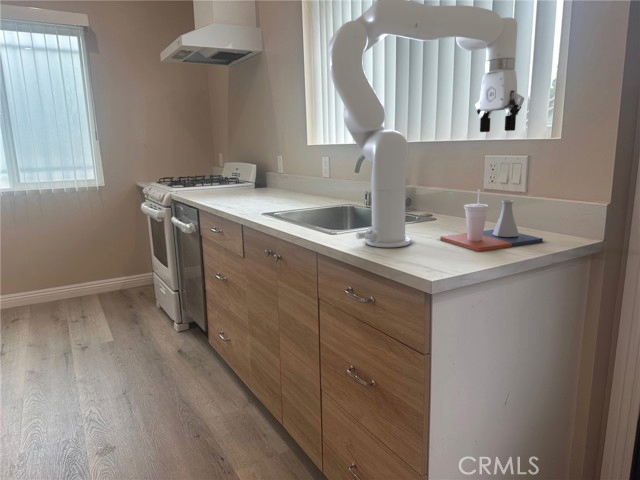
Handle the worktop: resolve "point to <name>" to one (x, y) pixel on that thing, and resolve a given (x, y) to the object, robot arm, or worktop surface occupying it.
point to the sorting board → (490, 241)
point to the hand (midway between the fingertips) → (496, 131)
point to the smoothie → (475, 219)
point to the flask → (506, 221)
